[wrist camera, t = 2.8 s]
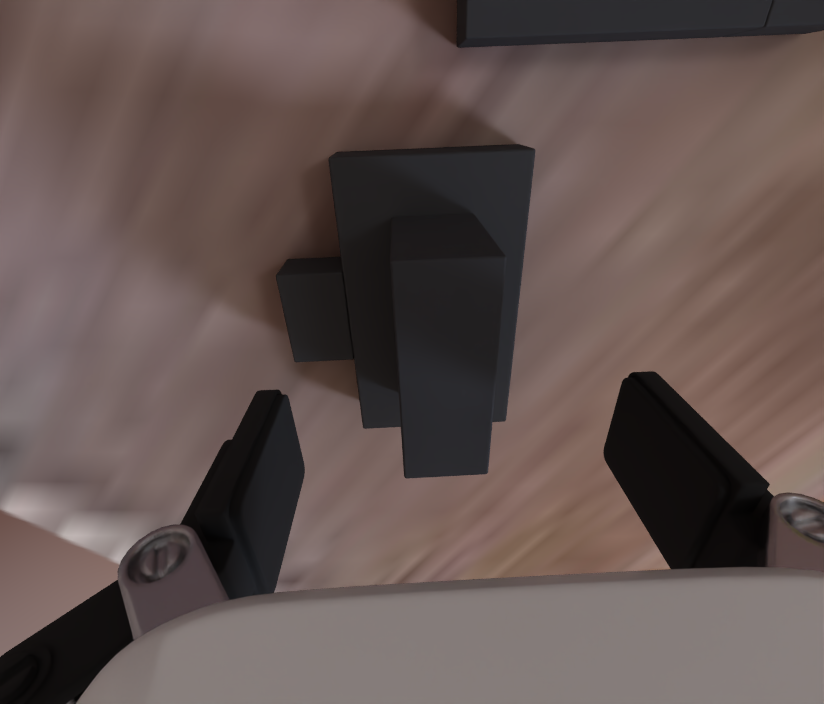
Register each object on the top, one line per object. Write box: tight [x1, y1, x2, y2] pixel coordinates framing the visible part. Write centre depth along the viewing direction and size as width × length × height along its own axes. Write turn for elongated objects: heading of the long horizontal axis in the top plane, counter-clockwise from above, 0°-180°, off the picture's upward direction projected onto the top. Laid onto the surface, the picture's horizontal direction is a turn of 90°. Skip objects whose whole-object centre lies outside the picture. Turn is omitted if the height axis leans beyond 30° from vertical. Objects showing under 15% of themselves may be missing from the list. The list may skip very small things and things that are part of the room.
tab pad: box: [276, 144, 535, 478], centre depth 15 cm, size 12×10×7 cm
